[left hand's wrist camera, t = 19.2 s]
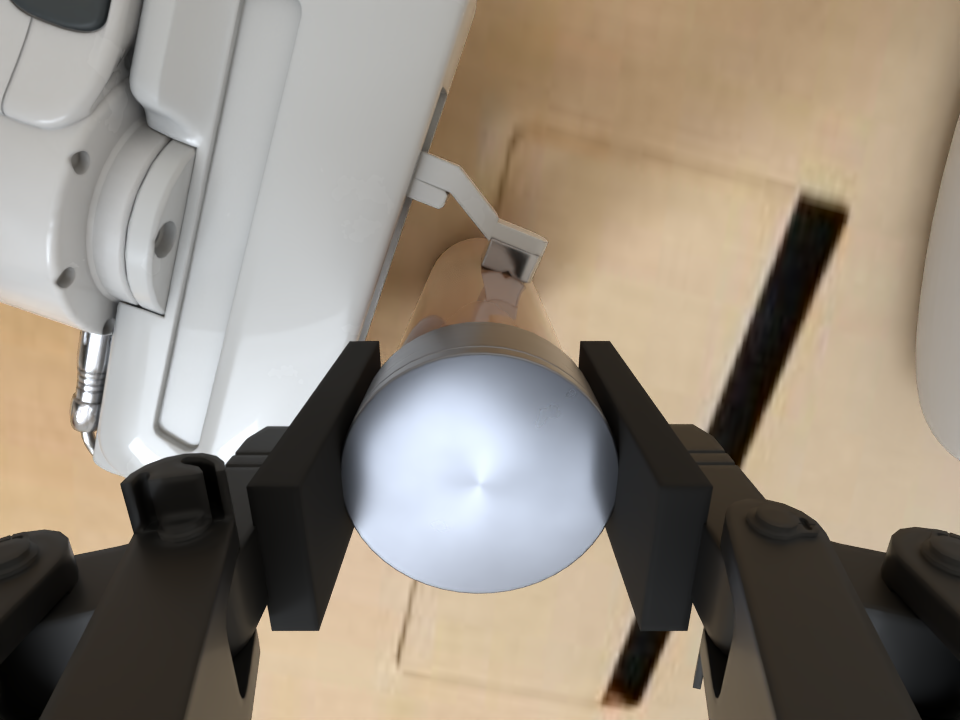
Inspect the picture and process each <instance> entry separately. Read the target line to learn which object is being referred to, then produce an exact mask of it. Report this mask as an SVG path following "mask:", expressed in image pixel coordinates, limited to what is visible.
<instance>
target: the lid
mask: <svg viewBox="0 0 960 720" xmlns="http://www.w3.org/2000/svg"><path fill="white" fill-rule="evenodd" d="M340 467H341V478H342V487H343V496H344V504H345V507H346V511H347V513H348V515H349V517H350V519H351V521H352V524H353V526H354V527H355V529H356V530H357V532H358V533H359V535H360V536H361V538H362V539H363V540H364V541H365V543H366V544H367V545H368V546H369V547H370V549H371V550H372V551H373V552H374V553H376V554H377V555H378V556H379V557H380V558H381V559H382V560H383V561H384V562H386V563H387V564H389V565H390V566H391V567H393V568H394V569H396V570H397V571H399V572H401V573H403V574H404V575H406V576H408V577H410V578H412V579H414V580H417V581H419V582H421V583H424V584H426V585H430V586H433V587H436V588H440V589H444V590H449V591H455V592H462V593H475V594H477V593H497V592H505V591H511V590H515V589H519V588H523V587H527V586H530V585H532V584H535V583H538V582H541V581H543V580H545V579H547V578H549V577H551V576H553V575H555V574H557V573H559V572H560V571H562V570H563V569H565V568H567V567H568V566H570V565H571V564H572V563H573V562H575V561H576V560H577V559H578V558H580V557H581V556H582V555H583V554H584V553H585V552H586V551H587V550H588V549H589V548H590V547H591V546H592V545H593V543H594V542H595V541H596V539H597V538H598V537H599V535H600V534H601V533H602V531H603V529H604V527H605V526H606V524H607V522H608V520H609V519H610V516H611V513H612V511H613V508H614V506H615V499H616V490H617V481H618V471H619V455H618V450H617V446H616V442H615V439H614V436H613V434H612V431H611V429H610V427H609V424H608V422H607V420H606V418H605V416H604V414H603V412H602V410H601V408H600V406H599V404H598V402H597V400H596V397H595V395H594V393H593V391H592V389H591V387H590V385H589V383H588V382H587V380H586V378H585V377H584V375H583V373H582V372H581V371H580V369H579V368H578V367H577V366H576V364H575V363H574V362H573V361H572V360H571V359H570V358H569V357H568V356H567V355H566V354H565V353H564V352H563V351H562V350H561V349H559V348H558V347H556V346H555V345H553V344H552V343H551V342H549V341H548V340H546V339H544V338H542V337H540V336H538V335H536V334H534V333H532V332H530V331H527V330H524V329H521V328H519V327H515V326H511V325H506V324H502V323H492V322H466V323H459V324H453V325H448V326H445V327H441V328H438V329H435V330H432V331H430V332H428V333H425V334H423V335H421V336H419V337H417V338H415V339H414V340H412V341H410V342H409V343H407V344H405V345H404V346H403V347H402V348H400V349H399V350H398V351H397V352H395V353H394V354H393V355H392V356H391V357H390V358H389V359H388V360H387V361H386V362H385V364H384V365H383V366H382V367H381V368H380V370H379V371H378V373H377V374H376V376H375V377H374V379H373V381H372V382H371V384H370V386H369V388H368V390H367V392H366V394H365V397H364V399H363V401H362V403H361V405H360V407H359V409H358V411H357V413H356V415H355V417H354V419H353V421H352V423H351V425H350V428H349V430H348V432H347V435H346V438H345V441H344V444H343V447H342V452H341V458H340Z"/></svg>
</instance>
